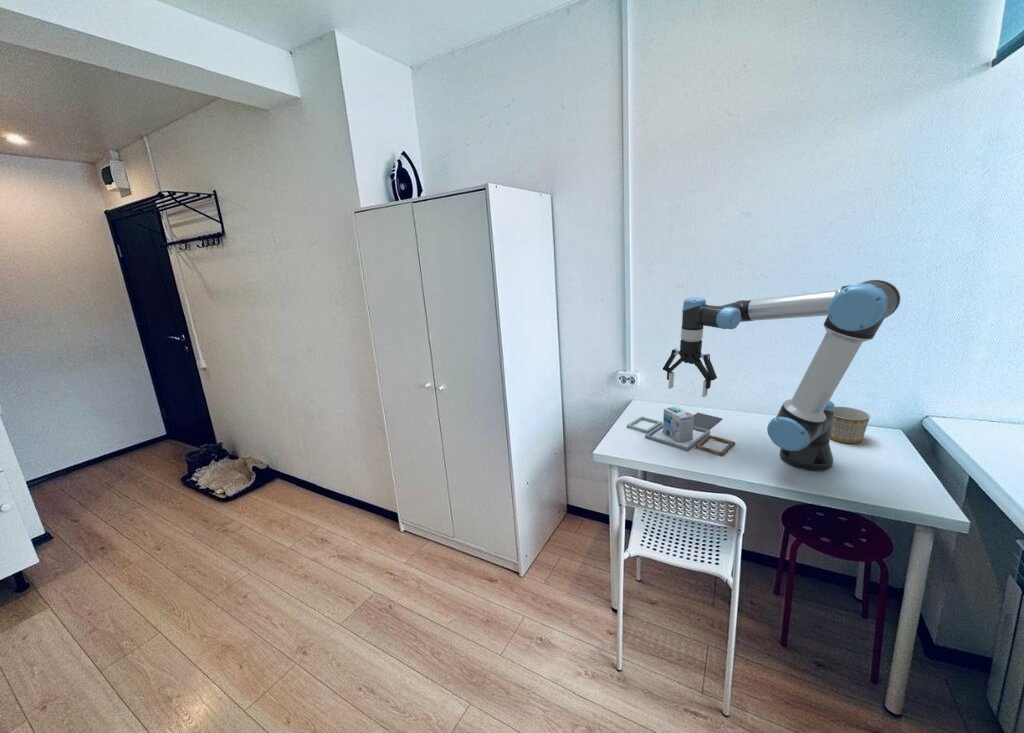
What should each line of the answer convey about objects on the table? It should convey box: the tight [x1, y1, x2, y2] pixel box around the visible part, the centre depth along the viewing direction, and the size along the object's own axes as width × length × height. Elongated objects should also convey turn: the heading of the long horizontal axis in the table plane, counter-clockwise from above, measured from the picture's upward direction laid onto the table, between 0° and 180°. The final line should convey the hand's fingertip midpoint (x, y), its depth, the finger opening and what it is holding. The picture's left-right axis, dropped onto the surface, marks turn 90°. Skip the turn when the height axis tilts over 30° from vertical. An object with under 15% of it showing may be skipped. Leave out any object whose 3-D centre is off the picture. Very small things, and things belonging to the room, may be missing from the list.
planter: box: [830, 406, 871, 445], centre depth 154 cm, size 13×13×10 cm
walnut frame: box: [694, 434, 736, 457], centre depth 157 cm, size 10×12×1 cm
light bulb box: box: [662, 405, 695, 443], centre depth 166 cm, size 11×7×11 cm, turn 17°
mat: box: [693, 412, 723, 431], centre depth 178 cm, size 11×15×1 cm
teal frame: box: [626, 415, 663, 434], centre depth 178 cm, size 10×12×1 cm
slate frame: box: [644, 423, 711, 452], centre depth 168 cm, size 18×20×1 cm
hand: (687, 391), depth 160 cm, fingers open, 13 cm apart
